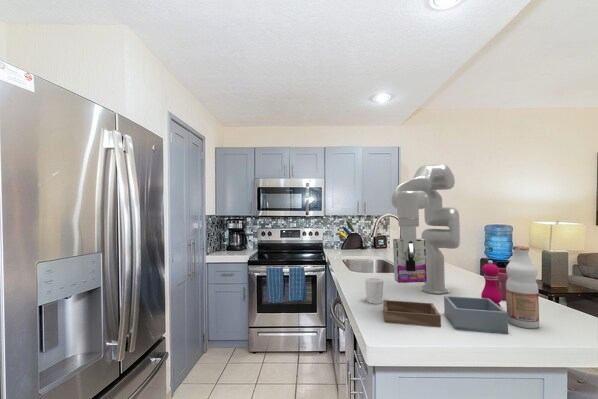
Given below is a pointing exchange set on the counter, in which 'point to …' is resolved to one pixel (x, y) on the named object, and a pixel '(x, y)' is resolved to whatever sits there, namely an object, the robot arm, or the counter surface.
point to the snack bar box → (400, 263)
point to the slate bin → (475, 314)
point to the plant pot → (502, 282)
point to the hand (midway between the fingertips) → (409, 268)
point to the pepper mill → (491, 283)
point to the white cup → (374, 290)
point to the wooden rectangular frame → (411, 313)
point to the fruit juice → (522, 290)
